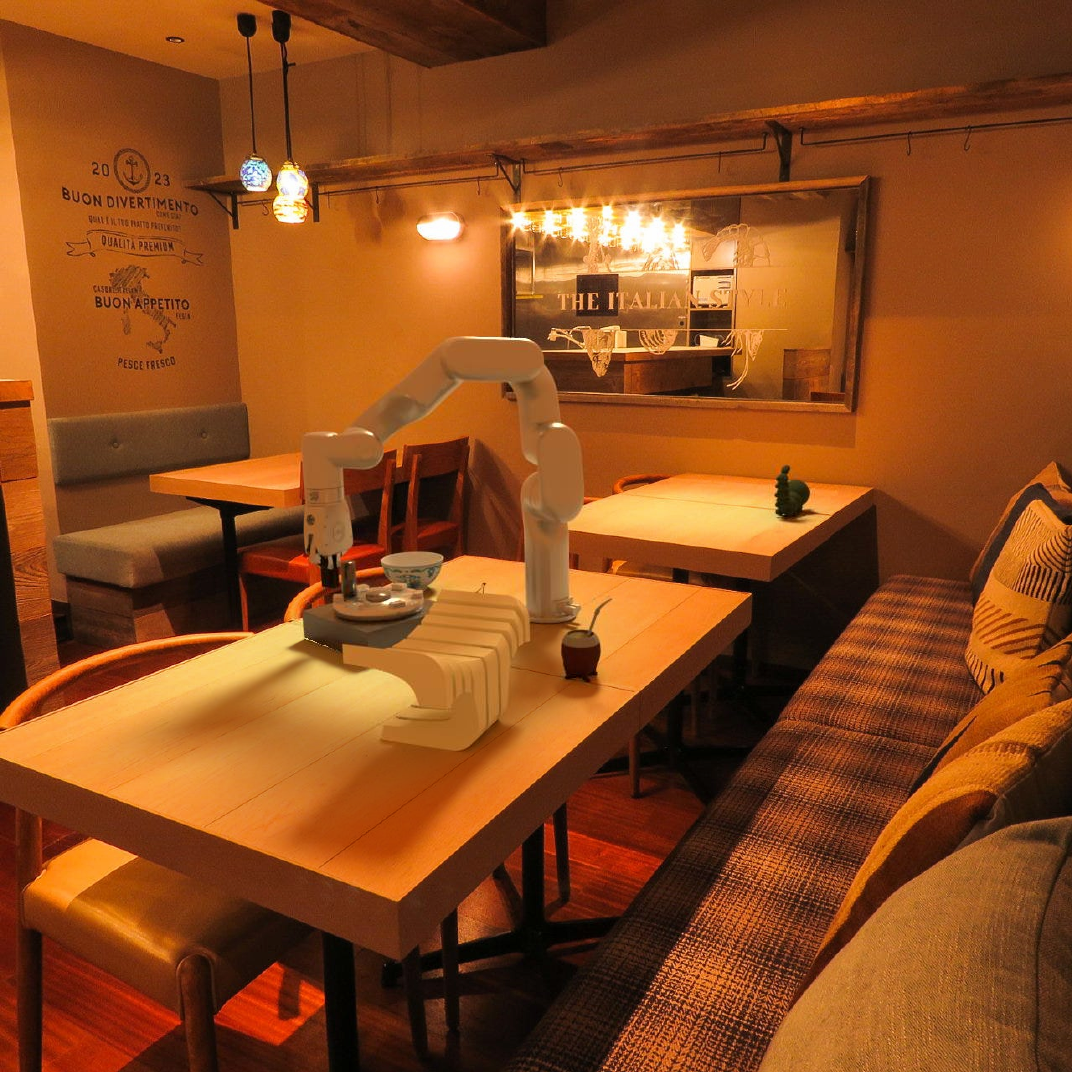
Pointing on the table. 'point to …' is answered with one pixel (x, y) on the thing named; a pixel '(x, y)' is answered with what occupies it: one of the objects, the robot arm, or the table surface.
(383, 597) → the round turntable with post
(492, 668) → the slatted curved stool
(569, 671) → the mate gourd
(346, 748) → the table surface
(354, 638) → the housing
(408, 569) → the chinaware
